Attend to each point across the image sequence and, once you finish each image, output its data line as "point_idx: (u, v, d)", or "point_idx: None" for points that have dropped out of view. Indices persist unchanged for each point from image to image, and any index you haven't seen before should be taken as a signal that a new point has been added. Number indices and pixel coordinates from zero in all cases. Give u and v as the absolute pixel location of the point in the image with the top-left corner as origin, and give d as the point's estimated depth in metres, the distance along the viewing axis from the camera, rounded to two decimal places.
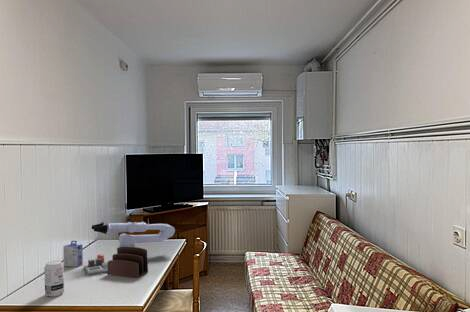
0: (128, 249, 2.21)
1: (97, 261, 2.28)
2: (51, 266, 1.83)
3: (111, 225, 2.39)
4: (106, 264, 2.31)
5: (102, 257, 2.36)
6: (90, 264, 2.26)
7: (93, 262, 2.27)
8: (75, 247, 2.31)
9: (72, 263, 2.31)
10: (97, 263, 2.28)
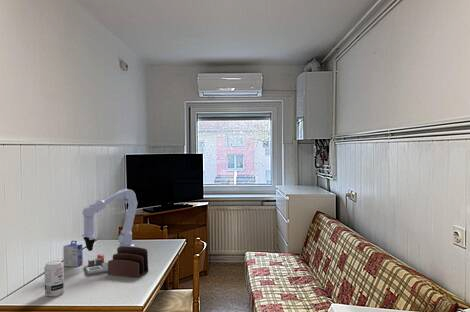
0: (128, 249, 2.21)
1: (97, 261, 2.28)
2: (51, 266, 1.83)
3: (86, 233, 2.31)
4: (106, 264, 2.31)
5: (102, 257, 2.36)
6: (90, 264, 2.26)
7: (93, 262, 2.27)
8: (75, 247, 2.31)
9: (72, 263, 2.31)
10: (97, 263, 2.28)
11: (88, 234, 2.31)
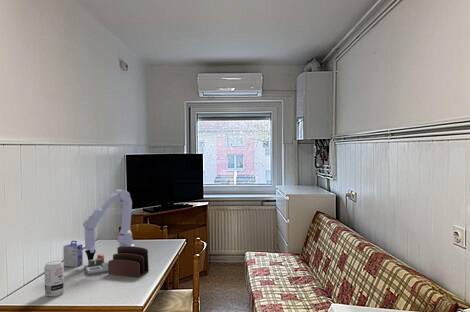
0: (128, 249, 2.22)
1: (97, 261, 2.28)
2: (51, 266, 1.83)
3: (87, 245, 2.28)
4: (106, 264, 2.31)
5: (102, 257, 2.36)
6: (90, 264, 2.26)
7: (93, 262, 2.27)
8: (75, 247, 2.31)
9: (72, 263, 2.31)
10: (97, 263, 2.28)
11: (89, 247, 2.28)
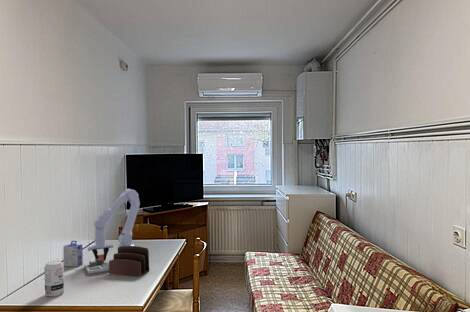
0: (129, 249, 2.23)
1: (97, 261, 2.28)
2: (51, 266, 1.83)
3: None
4: (106, 264, 2.31)
5: (102, 257, 2.36)
6: (91, 266, 2.23)
7: (94, 264, 2.23)
8: (75, 247, 2.31)
9: (72, 263, 2.31)
10: (97, 263, 2.28)
11: (95, 245, 2.37)
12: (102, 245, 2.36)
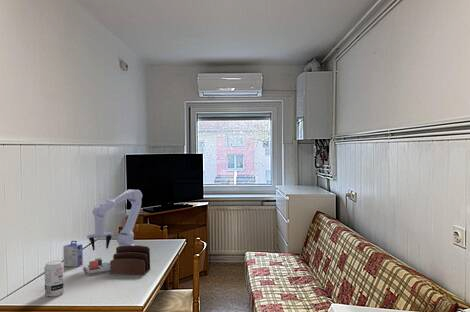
0: (128, 248, 2.24)
1: None
2: (51, 266, 1.83)
3: None
4: (106, 264, 2.31)
5: (96, 263, 2.18)
6: None
7: None
8: (75, 247, 2.31)
9: (72, 263, 2.31)
10: None
11: (95, 233, 2.31)
12: (102, 233, 2.30)
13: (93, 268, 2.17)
